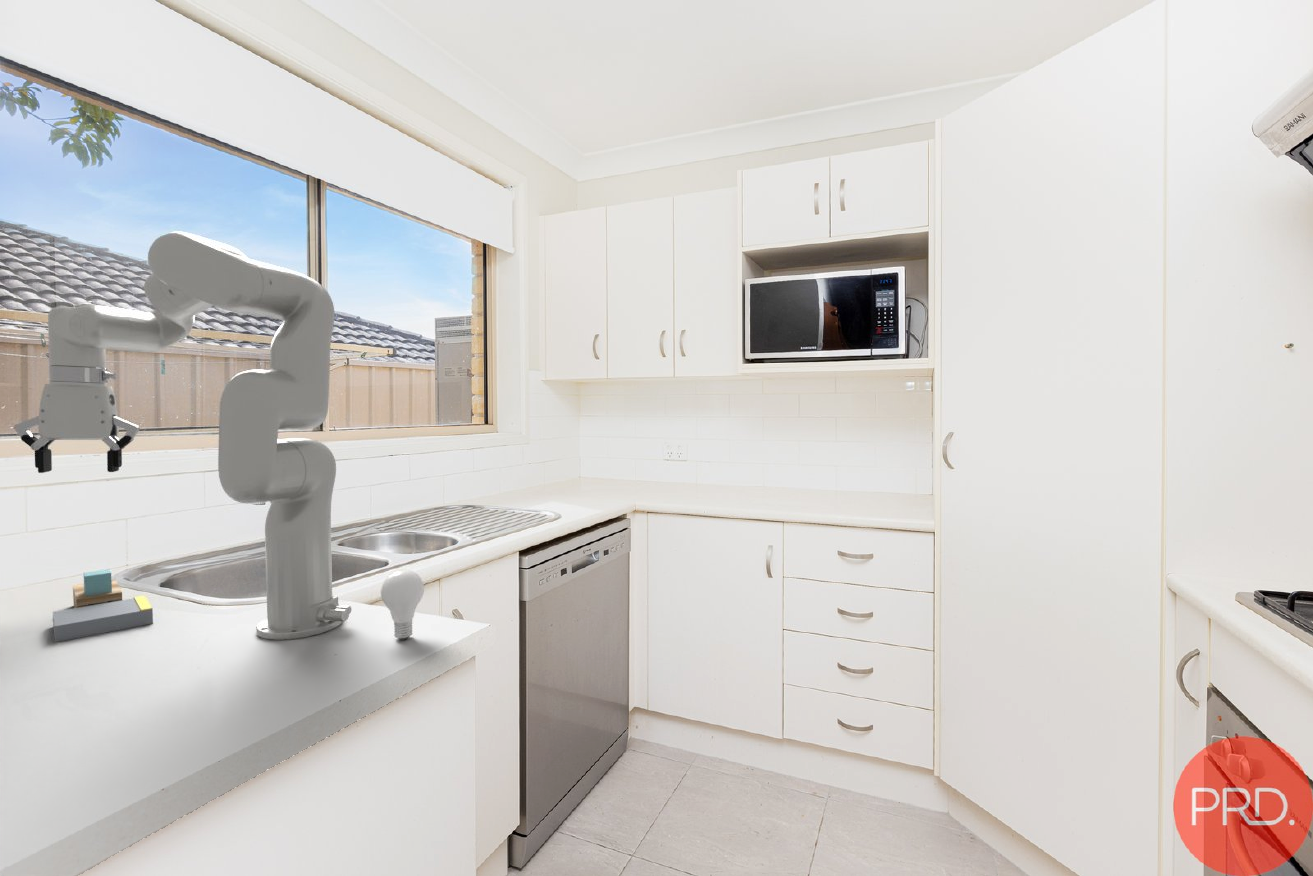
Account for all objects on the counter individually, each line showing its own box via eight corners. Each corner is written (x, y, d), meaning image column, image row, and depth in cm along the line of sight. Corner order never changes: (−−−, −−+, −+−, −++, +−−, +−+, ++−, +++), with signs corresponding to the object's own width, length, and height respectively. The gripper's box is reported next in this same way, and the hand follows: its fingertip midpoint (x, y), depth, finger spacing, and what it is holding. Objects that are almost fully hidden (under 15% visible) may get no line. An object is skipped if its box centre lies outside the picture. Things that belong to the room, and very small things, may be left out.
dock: (153, 623, 106) (152, 607, 106) (55, 642, 97) (54, 625, 97) (145, 610, 113) (144, 595, 113) (53, 626, 104) (52, 610, 104)
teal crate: (111, 592, 111) (111, 572, 111) (85, 596, 109) (84, 576, 108) (110, 588, 114) (109, 569, 113) (84, 592, 111) (83, 572, 111)
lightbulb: (433, 635, 100) (432, 568, 100) (402, 649, 94) (401, 577, 94) (404, 629, 103) (403, 563, 102) (372, 642, 97) (371, 573, 96)
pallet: (122, 614, 111) (121, 592, 111) (77, 622, 107) (76, 599, 107) (116, 599, 120) (115, 579, 119) (73, 606, 115) (72, 585, 115)
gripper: (145, 380, 119) (146, 469, 120) (25, 375, 112) (27, 470, 113) (130, 379, 112) (131, 473, 113) (2, 374, 105) (4, 474, 106)
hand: (79, 471), depth 113 cm, fingers open, 9 cm apart
